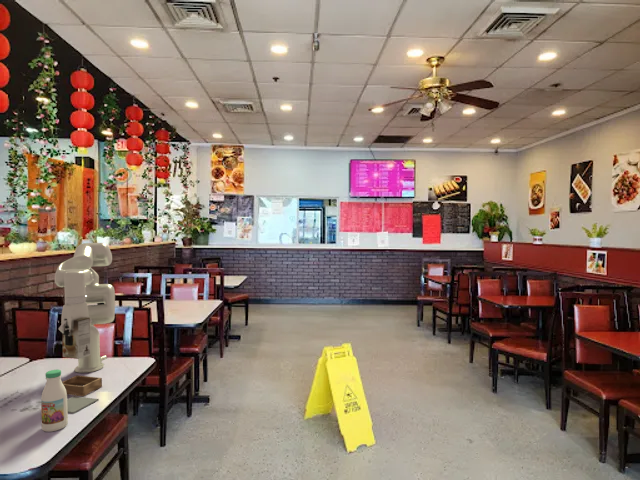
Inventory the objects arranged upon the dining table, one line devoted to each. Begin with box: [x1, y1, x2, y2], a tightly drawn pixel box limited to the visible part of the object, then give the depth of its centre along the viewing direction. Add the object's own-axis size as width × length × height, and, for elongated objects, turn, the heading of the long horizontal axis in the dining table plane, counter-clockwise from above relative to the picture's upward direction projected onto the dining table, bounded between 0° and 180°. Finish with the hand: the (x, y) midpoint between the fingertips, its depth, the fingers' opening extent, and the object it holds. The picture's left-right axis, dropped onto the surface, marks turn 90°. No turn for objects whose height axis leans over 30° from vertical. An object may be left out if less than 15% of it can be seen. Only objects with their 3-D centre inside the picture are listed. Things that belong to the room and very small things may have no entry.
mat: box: [67, 395, 99, 415], centre depth 163 cm, size 12×12×1 cm
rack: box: [62, 375, 103, 397], centre depth 178 cm, size 10×13×4 cm
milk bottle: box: [40, 369, 69, 433], centre depth 145 cm, size 8×8×20 cm
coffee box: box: [61, 317, 91, 360], centre depth 172 cm, size 9×6×16 cm
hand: (76, 342), depth 172 cm, fingers closed on coffee box, 6 cm apart
